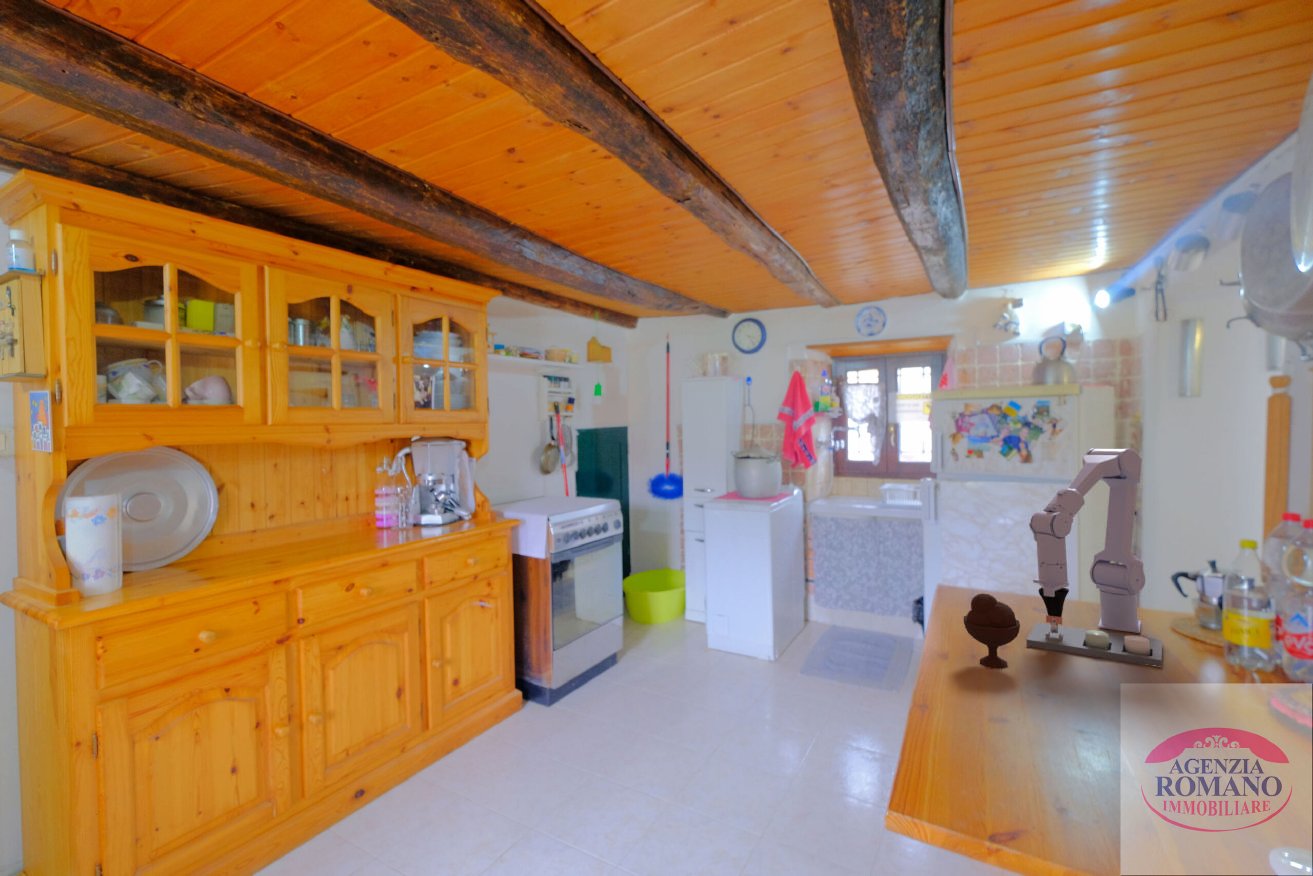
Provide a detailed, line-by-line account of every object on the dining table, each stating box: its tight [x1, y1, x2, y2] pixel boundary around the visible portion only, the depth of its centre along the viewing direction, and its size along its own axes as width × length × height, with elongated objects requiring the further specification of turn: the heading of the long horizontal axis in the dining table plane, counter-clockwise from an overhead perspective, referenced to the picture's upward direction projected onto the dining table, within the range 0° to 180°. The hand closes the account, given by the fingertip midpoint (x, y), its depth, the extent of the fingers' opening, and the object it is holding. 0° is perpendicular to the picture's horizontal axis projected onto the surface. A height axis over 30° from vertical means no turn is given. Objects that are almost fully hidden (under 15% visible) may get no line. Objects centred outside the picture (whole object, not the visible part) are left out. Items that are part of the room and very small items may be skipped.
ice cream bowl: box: [963, 592, 1021, 670], centre depth 129 cm, size 11×11×15 cm
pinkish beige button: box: [1124, 635, 1151, 656], centre depth 128 cm, size 4×4×3 cm
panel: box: [1025, 622, 1163, 667], centre depth 135 cm, size 14×24×2 cm, turn 50°
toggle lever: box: [1045, 614, 1063, 633], centre depth 138 cm, size 1×3×4 cm, turn 48°
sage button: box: [1085, 629, 1109, 650], centre depth 132 cm, size 4×4×3 cm
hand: (1055, 619), depth 140 cm, fingers closed
